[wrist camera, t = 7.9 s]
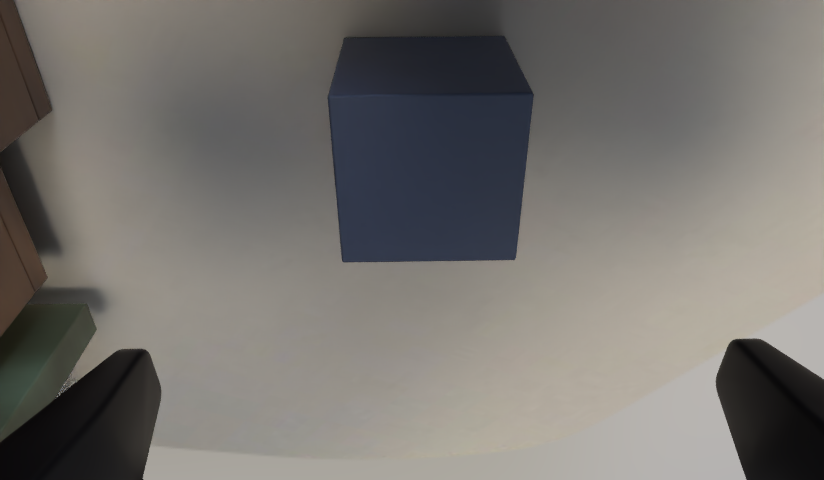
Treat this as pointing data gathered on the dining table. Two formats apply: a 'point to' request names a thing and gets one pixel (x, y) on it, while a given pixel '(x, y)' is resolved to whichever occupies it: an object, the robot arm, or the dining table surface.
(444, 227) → the block
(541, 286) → the dining table surface
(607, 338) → the dining table surface
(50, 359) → the drawer
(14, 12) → the cabinet
